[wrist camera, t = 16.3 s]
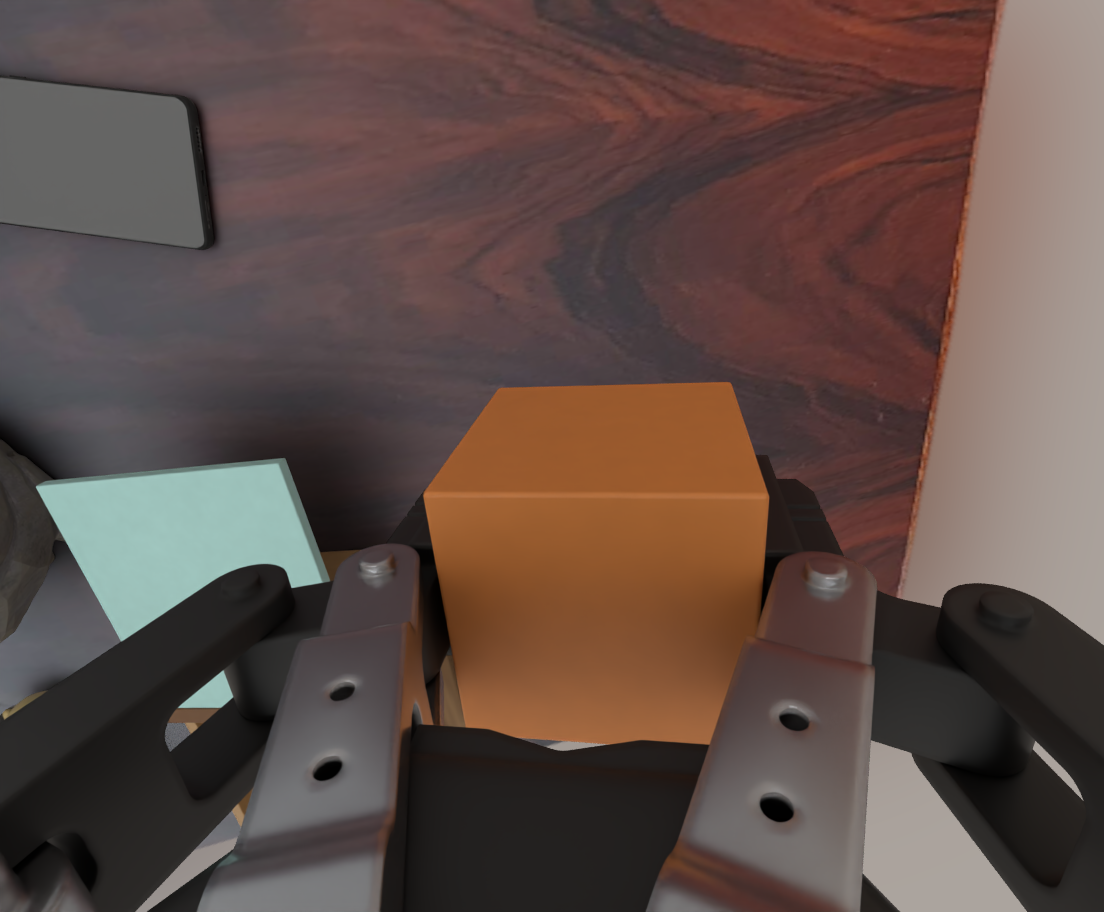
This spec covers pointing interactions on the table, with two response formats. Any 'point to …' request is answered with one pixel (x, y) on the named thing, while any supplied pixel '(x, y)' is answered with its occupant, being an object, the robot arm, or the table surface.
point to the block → (600, 560)
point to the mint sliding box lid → (182, 541)
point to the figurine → (22, 537)
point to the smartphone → (103, 163)
